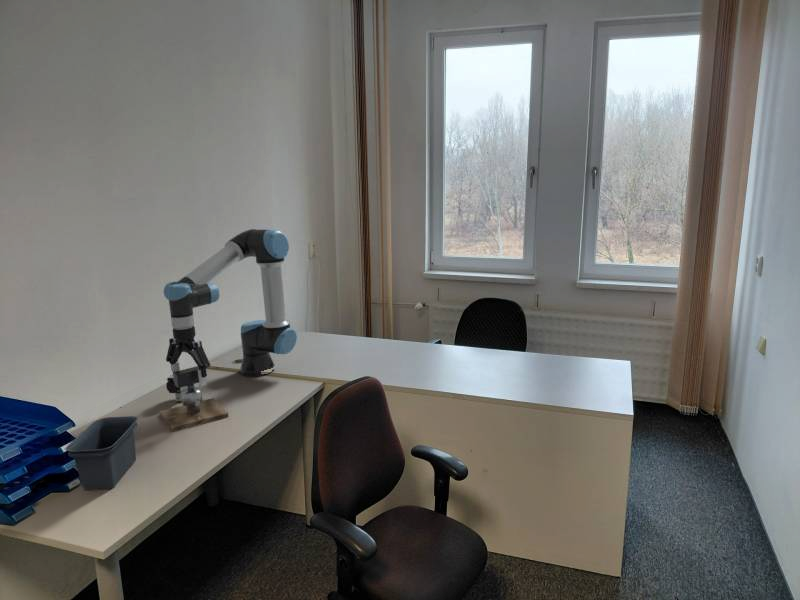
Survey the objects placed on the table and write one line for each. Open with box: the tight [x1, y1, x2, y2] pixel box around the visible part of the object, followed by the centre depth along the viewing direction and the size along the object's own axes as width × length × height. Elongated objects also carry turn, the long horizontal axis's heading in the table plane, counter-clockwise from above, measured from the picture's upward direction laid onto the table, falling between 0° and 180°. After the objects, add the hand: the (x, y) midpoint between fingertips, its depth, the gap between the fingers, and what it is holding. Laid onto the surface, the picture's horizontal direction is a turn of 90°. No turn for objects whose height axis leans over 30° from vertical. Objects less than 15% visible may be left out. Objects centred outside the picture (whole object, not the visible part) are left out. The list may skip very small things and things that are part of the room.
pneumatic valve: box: [165, 373, 187, 402], centre depth 222 cm, size 6×12×12 cm, turn 169°
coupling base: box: [159, 397, 229, 432], centre depth 207 cm, size 20×18×5 cm
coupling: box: [172, 365, 203, 406], centre depth 205 cm, size 10×10×13 cm
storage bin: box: [65, 415, 139, 491], centre depth 166 cm, size 21×16×14 cm
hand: (190, 382), depth 205 cm, fingers open, 13 cm apart
